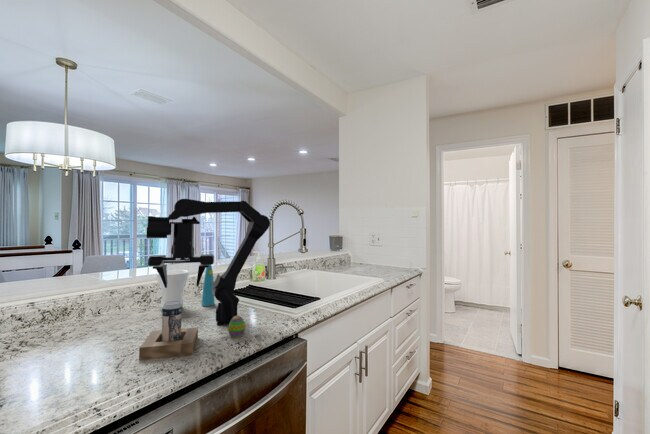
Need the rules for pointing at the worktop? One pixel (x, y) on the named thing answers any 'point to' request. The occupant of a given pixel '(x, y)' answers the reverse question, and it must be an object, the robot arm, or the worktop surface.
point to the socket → (168, 345)
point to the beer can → (171, 321)
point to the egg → (236, 327)
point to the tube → (208, 288)
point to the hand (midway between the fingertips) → (182, 287)
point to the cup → (173, 286)
